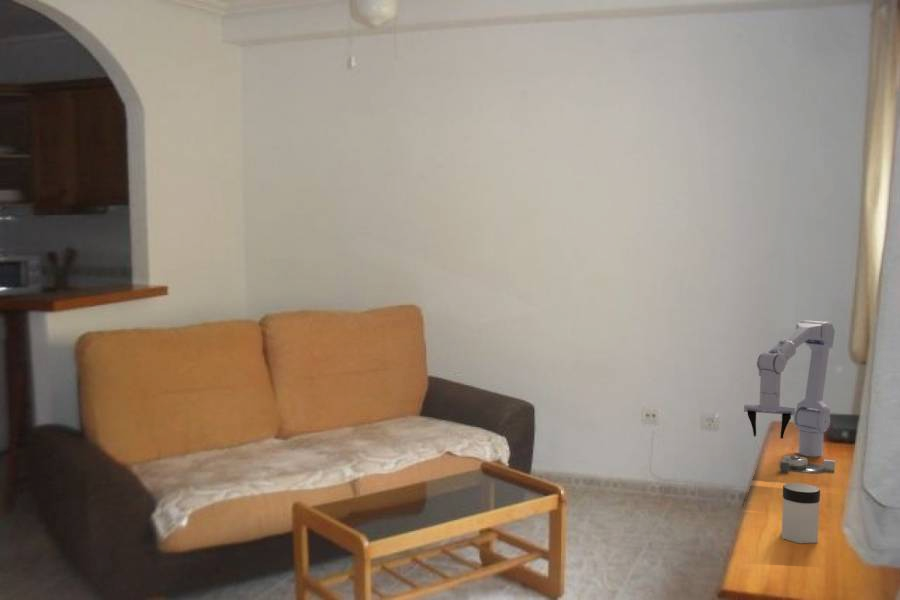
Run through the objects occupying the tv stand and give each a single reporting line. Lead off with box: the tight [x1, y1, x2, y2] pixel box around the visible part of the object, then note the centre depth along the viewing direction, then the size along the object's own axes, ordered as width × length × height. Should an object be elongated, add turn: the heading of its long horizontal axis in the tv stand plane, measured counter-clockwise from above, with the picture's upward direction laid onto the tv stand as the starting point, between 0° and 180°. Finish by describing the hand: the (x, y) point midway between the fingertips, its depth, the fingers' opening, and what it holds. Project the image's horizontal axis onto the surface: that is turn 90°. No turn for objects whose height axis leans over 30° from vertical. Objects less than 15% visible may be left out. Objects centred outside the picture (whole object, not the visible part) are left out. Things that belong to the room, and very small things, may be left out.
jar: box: [781, 482, 821, 544], centre depth 214 cm, size 9×8×12 cm
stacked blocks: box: [779, 460, 789, 475], centre depth 269 cm, size 3×2×4 cm
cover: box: [782, 454, 809, 470], centre depth 275 cm, size 7×7×3 cm
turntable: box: [788, 459, 836, 475], centre depth 274 cm, size 13×14×4 cm
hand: (768, 436), depth 277 cm, fingers open, 7 cm apart
